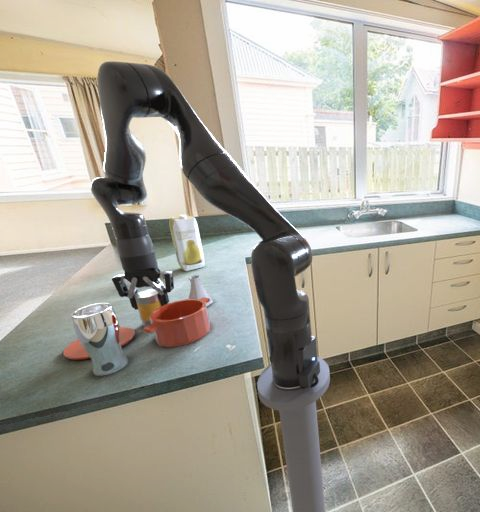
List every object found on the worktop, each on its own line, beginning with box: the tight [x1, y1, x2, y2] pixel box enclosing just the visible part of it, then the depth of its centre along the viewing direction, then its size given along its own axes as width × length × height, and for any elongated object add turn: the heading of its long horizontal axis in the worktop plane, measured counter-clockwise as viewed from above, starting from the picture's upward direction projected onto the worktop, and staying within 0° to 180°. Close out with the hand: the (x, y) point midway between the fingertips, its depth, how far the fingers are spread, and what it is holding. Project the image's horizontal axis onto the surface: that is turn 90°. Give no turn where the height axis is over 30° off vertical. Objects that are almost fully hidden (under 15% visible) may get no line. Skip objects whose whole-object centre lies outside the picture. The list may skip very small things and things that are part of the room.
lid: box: [63, 326, 136, 361], centre depth 76 cm, size 14×14×6 cm
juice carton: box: [168, 214, 205, 272], centre depth 129 cm, size 9×8×24 cm
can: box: [135, 288, 162, 327], centre depth 86 cm, size 6×6×9 cm
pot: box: [142, 297, 211, 348], centre depth 81 cm, size 13×18×8 cm
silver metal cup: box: [70, 302, 129, 377], centre depth 66 cm, size 7×7×15 cm
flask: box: [188, 274, 214, 307], centre depth 97 cm, size 7×7×10 cm
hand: (151, 306), depth 86 cm, fingers closed on can, 6 cm apart
